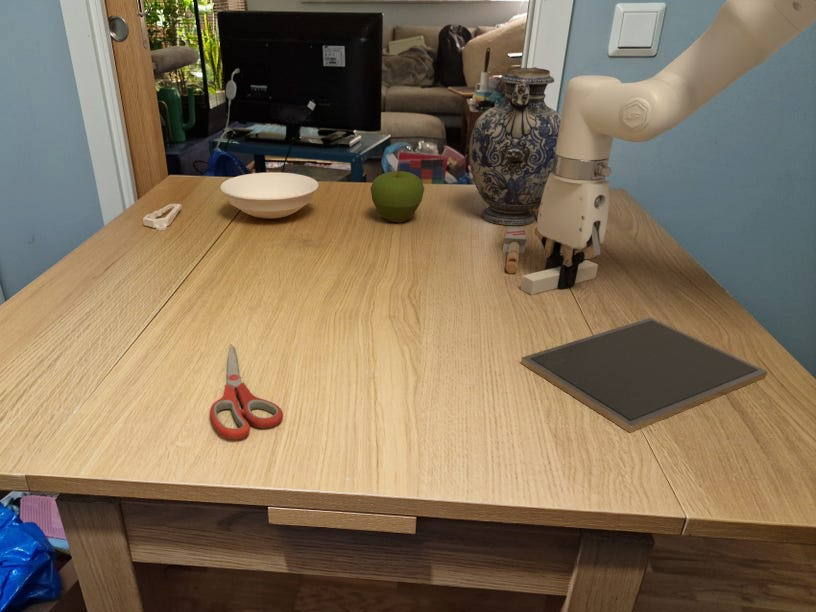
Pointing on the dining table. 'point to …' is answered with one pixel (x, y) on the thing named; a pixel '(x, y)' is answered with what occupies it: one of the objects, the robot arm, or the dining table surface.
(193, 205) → the dining table surface
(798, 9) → the robot arm
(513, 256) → the paintbrush
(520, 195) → the decorative vase
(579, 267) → the beige rectangular block
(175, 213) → the stepped key frame
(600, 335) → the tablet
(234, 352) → the scissors
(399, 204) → the apple
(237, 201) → the bowl
